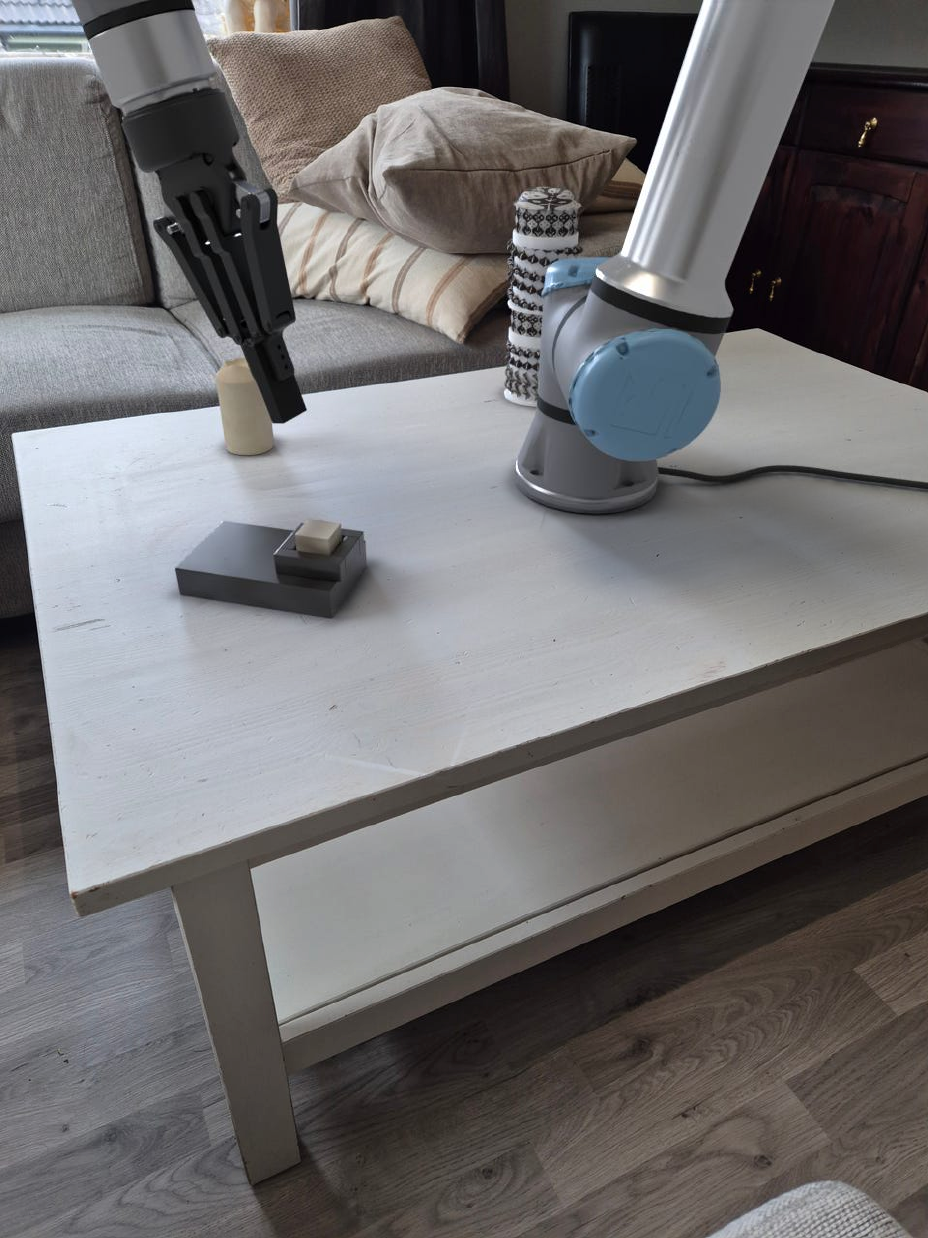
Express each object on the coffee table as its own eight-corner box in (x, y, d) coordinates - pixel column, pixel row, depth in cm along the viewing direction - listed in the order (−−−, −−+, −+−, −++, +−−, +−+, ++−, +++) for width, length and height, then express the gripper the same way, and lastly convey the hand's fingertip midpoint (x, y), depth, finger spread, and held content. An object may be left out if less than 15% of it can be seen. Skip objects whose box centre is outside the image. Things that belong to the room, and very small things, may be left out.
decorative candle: (533, 413, 113) (547, 199, 99) (487, 392, 119) (493, 187, 105) (584, 398, 118) (604, 191, 104) (537, 378, 124) (549, 181, 110)
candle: (263, 458, 101) (253, 371, 95) (218, 453, 101) (204, 367, 96) (281, 439, 105) (272, 355, 99) (237, 435, 106) (226, 351, 100)
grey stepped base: (371, 566, 81) (369, 522, 79) (336, 619, 74) (333, 573, 72) (226, 545, 84) (220, 502, 82) (179, 594, 77) (170, 549, 74)
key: (342, 540, 77) (341, 522, 76) (330, 557, 74) (328, 539, 73) (310, 536, 77) (308, 518, 76) (296, 552, 75) (294, 534, 74)
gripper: (265, 65, 60) (373, 398, 72) (162, 107, 68) (274, 399, 80) (177, 87, 56) (308, 437, 67) (79, 129, 64) (210, 434, 76)
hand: (289, 416), depth 74 cm, fingers closed
